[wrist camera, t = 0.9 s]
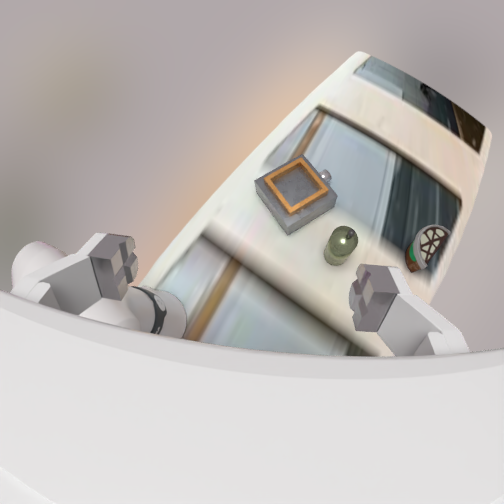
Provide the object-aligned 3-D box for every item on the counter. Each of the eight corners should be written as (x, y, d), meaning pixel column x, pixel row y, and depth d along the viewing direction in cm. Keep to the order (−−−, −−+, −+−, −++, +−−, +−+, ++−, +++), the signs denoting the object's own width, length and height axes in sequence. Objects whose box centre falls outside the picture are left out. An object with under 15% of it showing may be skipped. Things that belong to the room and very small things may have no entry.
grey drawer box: (287, 235, 68) (288, 223, 60) (256, 192, 72) (253, 176, 64) (342, 201, 69) (348, 185, 61) (310, 162, 73) (312, 144, 65)
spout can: (332, 270, 64) (344, 254, 52) (319, 250, 66) (327, 231, 53) (351, 257, 65) (366, 239, 52) (337, 238, 66) (349, 216, 54)
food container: (418, 227, 65) (434, 212, 55) (433, 244, 63) (451, 231, 54) (391, 259, 63) (407, 247, 54) (408, 276, 62) (426, 267, 52)
